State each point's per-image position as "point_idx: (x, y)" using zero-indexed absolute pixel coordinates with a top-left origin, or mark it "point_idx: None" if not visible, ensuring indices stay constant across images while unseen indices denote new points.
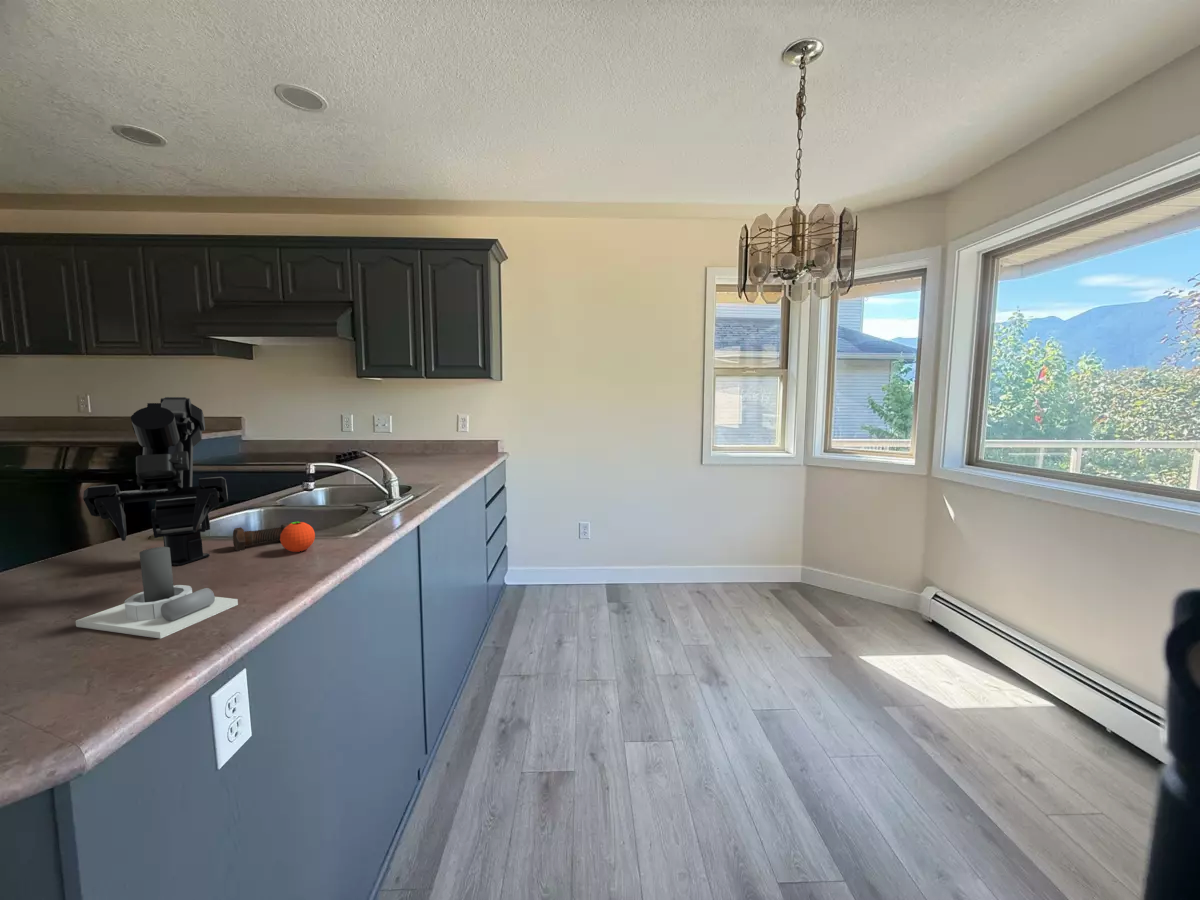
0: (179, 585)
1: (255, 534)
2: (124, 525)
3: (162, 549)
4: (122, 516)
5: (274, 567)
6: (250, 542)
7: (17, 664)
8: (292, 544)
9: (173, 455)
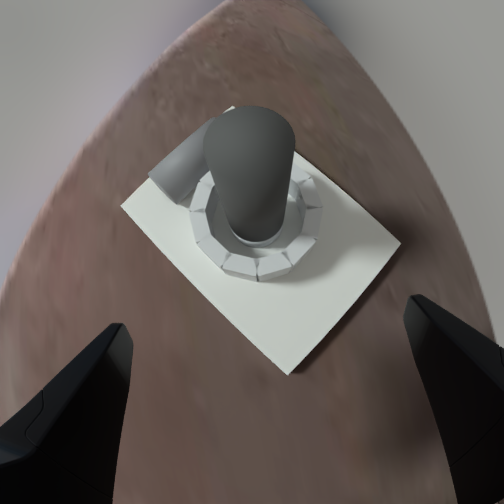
0: (222, 263)
1: None
2: (446, 373)
3: (224, 140)
4: (483, 391)
5: None
6: None
7: (398, 127)
8: None
9: None
